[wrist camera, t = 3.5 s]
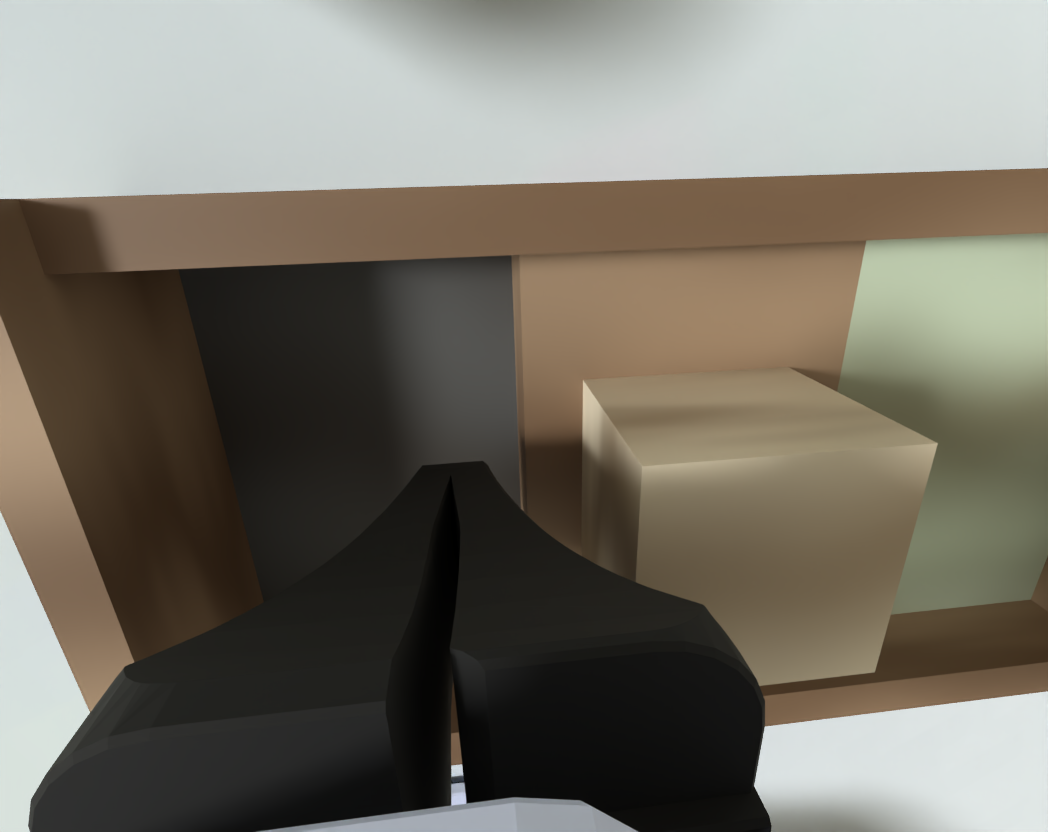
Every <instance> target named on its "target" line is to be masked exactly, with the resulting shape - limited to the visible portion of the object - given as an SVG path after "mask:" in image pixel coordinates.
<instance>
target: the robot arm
mask: <svg viewBox="0 0 1048 832" xmlns="http://www.w3.org/2000/svg"><path fill="white" fill-rule="evenodd" d="M453 683H454V693H455V702H456V711H457V720H458V729H459V738H460V748H461V757H462V766H463V775H464V783H456V784H451V705H452V687H453ZM764 727H765V699H764V697H763V694H762V691H761V689H760V686H759V684H758V681H757V679H756V677H755V676H754V674H753V672H752V671H751V669H750V668H749V666H748V664H747V663H746V661H745V660H744V658H743V656H742V655H741V653H740V652H739V650H738V649H737V647H736V646H735V645H734V643H733V642H732V640H731V639H730V638H729V636H728V635H727V633H726V632H725V631H724V630H723V628H722V627H721V626H720V625H719V624H718V622H717V621H716V620H715V619H714V618H713V616H712V615H711V614H710V612H709V611H708V610H707V608H706V607H705V606H704V605H703V604H700V603H697V602H693V601H690V600H687V599H684V598H681V597H677V596H674V595H671V594H668V593H665V592H662V591H658V590H655V589H652V588H649V587H646V586H644V585H641V584H639V583H637V582H634V581H632V580H629V579H627V578H625V577H622V576H620V575H617V574H615V573H613V572H611V571H609V570H607V569H605V568H603V567H601V566H599V565H597V564H595V563H593V562H591V561H590V560H588V559H586V558H584V557H583V556H581V555H579V554H577V553H575V552H574V551H572V550H571V549H569V548H568V547H566V546H564V545H563V544H561V543H560V542H559V541H557V540H556V539H555V538H553V537H552V536H550V535H549V534H548V533H546V532H545V531H544V530H543V529H542V528H541V527H539V526H538V525H537V524H536V523H535V522H534V521H533V520H532V519H531V518H530V517H529V516H528V515H527V514H526V513H525V512H524V511H523V510H522V509H521V508H520V507H519V506H518V505H517V504H516V503H515V502H514V500H513V499H512V498H511V497H510V496H509V495H508V494H507V492H506V491H505V490H504V489H503V487H502V486H501V485H500V483H499V482H498V481H497V479H496V478H495V476H494V475H493V473H492V472H491V470H490V468H489V466H488V465H487V464H486V463H485V462H484V461H472V462H460V463H447V464H434V465H422V467H421V468H420V469H419V470H418V471H417V472H416V473H415V474H414V476H413V477H412V478H411V479H410V481H409V482H408V483H407V484H406V486H405V487H404V488H403V489H402V490H401V492H400V493H399V494H398V495H397V496H396V498H395V499H394V500H393V501H392V502H391V503H390V504H389V505H388V507H387V508H386V509H385V510H384V511H383V512H382V513H381V514H380V515H379V516H378V517H377V518H376V519H375V520H374V521H373V522H372V523H371V524H370V525H369V526H368V527H367V528H366V529H365V530H364V531H363V532H362V533H361V534H360V535H359V536H358V537H357V538H356V539H355V540H353V541H352V542H351V543H350V544H349V545H347V546H346V547H345V548H344V549H343V550H341V551H340V552H339V553H337V554H336V555H335V556H334V557H332V558H331V559H330V560H328V561H327V562H326V563H324V564H323V565H322V566H320V567H319V568H318V569H316V570H315V571H313V572H311V573H310V574H308V575H307V576H305V577H304V578H302V579H301V580H299V581H297V582H296V583H294V584H293V585H291V586H290V587H288V588H287V589H285V590H284V591H282V592H280V593H279V594H277V595H276V596H274V597H272V598H270V599H269V600H267V601H265V602H263V603H261V604H260V605H258V606H256V607H254V608H252V609H251V610H249V611H247V612H245V613H243V614H241V615H239V616H237V617H235V618H233V619H231V620H229V621H227V622H225V623H223V624H221V625H219V626H217V627H215V628H213V629H211V630H209V631H207V632H205V633H203V634H200V635H198V636H196V637H193V638H191V639H189V640H186V641H184V642H182V643H179V644H177V645H175V646H172V647H170V648H168V649H165V650H163V651H161V652H158V653H156V654H154V655H151V656H149V657H147V658H144V659H142V660H139V661H137V662H134V663H132V664H129V665H127V666H125V667H124V668H123V669H122V671H121V672H120V673H119V675H118V676H117V677H116V678H115V680H114V681H113V682H112V684H111V685H110V686H109V688H108V689H107V690H106V692H105V693H104V694H103V696H102V697H101V698H100V700H99V701H98V703H97V704H96V705H95V707H94V708H93V710H92V711H91V712H90V714H89V715H88V716H87V718H86V719H85V721H84V722H83V723H82V725H81V726H80V728H79V729H78V730H77V732H76V733H75V735H74V736H73V737H72V739H71V740H70V742H69V743H68V744H67V746H66V747H65V749H64V750H63V751H62V753H61V754H60V756H59V757H58V758H57V760H56V761H55V763H54V764H53V765H52V767H51V768H50V770H49V771H48V772H47V774H46V775H45V777H44V779H43V780H42V782H41V784H40V785H39V787H38V789H37V791H36V792H35V794H34V796H33V797H32V799H31V805H30V815H29V824H28V827H29V830H30V832H771V822H770V818H769V815H768V813H767V811H766V809H765V807H764V805H763V803H762V801H761V799H760V797H759V795H758V793H757V791H756V789H755V787H754V782H755V777H756V771H757V766H758V760H759V755H760V749H761V744H762V738H763V733H764Z"/></svg>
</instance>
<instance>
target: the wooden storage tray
mask: <svg viewBox="0 0 1048 832" xmlns="http://www.w3.org/2000/svg"><path fill="white" fill-rule="evenodd" d="M781 367H789V368H791V369H793V370H795V371H797V372H799V373H801V374H803V375H805V376H807V377H809V378H811V379H813V380H815V381H817V382H819V383H820V384H822V385H824V386H826V387H828V388H830V389H832V390H834V391H836V392H838V393H840V394H842V395H844V396H846V397H848V398H850V399H852V400H854V401H856V402H858V403H860V404H862V405H864V406H866V407H868V408H870V409H872V410H874V411H875V412H877V413H879V414H881V415H883V416H885V417H887V418H889V419H891V420H893V421H895V422H897V423H899V424H901V425H903V426H905V427H907V428H909V429H911V430H913V431H915V432H917V433H919V434H921V435H923V436H925V437H927V438H929V439H931V440H932V441H934V442H936V443H938V445H937V448H936V452H935V456H934V459H933V463H932V467H931V470H930V474H929V477H928V481H927V485H926V488H925V492H924V496H923V499H922V503H921V506H920V510H919V514H918V517H917V521H916V525H915V528H914V532H913V536H912V539H911V543H910V546H909V550H908V554H907V557H906V561H905V565H904V568H903V572H902V575H901V579H900V583H899V586H898V590H897V594H896V597H895V601H894V605H893V608H892V612H891V615H890V619H889V623H888V626H887V630H886V634H885V637H884V641H883V644H882V648H881V652H880V655H879V659H878V663H877V666H876V670H875V672H873V673H865V674H856V675H848V676H839V677H831V678H822V679H814V680H805V681H797V682H788V683H780V684H771V685H763V686H760V689H761V691H762V694H763V697H764V699H765V726H772V725H780V724H788V723H796V722H804V721H812V720H820V719H828V718H836V717H844V716H852V715H860V714H868V713H876V712H884V711H892V710H900V709H908V708H917V707H925V706H933V705H941V704H949V703H957V702H965V701H973V700H981V699H989V698H997V697H1005V696H1013V695H1021V694H1029V693H1037V692H1045V691H1048V168H1042V169H1009V170H975V171H942V172H909V173H875V174H842V175H808V176H775V177H742V178H708V179H675V180H642V181H608V182H575V183H541V184H508V185H475V186H441V187H408V188H375V189H341V190H308V191H274V192H241V193H208V194H174V195H141V196H108V197H74V198H41V199H0V511H1V513H2V516H3V518H4V520H5V522H6V525H7V527H8V529H9V531H10V534H11V536H12V538H13V540H14V543H15V545H16V547H17V549H18V551H19V554H20V556H21V558H22V560H23V563H24V565H25V567H26V569H27V572H28V574H29V576H30V578H31V581H32V583H33V585H34V587H35V590H36V592H37V594H38V596H39V599H40V601H41V603H42V605H43V608H44V610H45V612H46V614H47V617H48V619H49V621H50V623H51V626H52V628H53V630H54V632H55V635H56V637H57V639H58V641H59V644H60V646H61V648H62V650H63V653H64V655H65V657H66V659H67V662H68V664H69V666H70V668H71V670H72V673H73V675H74V677H75V679H76V682H77V684H78V686H79V688H80V691H81V693H82V695H83V697H84V700H85V702H86V704H87V706H88V709H89V711H90V712H91V711H92V710H93V708H94V707H95V705H96V704H97V703H98V701H99V700H100V698H101V697H102V696H103V694H104V693H105V692H106V690H107V689H108V688H109V686H110V685H111V684H112V682H113V681H114V680H115V678H116V677H117V676H118V675H119V673H120V672H121V671H122V669H123V668H124V667H125V666H127V665H129V664H132V663H134V662H137V661H139V660H142V659H144V658H147V657H149V656H151V655H154V654H156V653H158V652H161V651H163V650H165V649H168V648H170V647H172V646H175V645H177V644H179V643H182V642H184V641H186V640H189V639H191V638H193V637H196V636H198V635H200V634H203V633H205V632H207V631H209V630H211V629H213V628H215V627H217V626H219V625H221V624H223V623H225V622H227V621H229V620H231V619H233V618H235V617H237V616H239V615H241V614H243V613H245V612H247V611H249V610H251V609H252V608H254V607H256V606H258V605H260V604H261V603H263V602H265V601H267V600H269V599H270V598H272V597H274V596H276V595H277V594H279V593H280V592H282V591H284V590H285V589H287V588H288V587H290V586H291V585H293V584H294V583H296V582H297V581H299V580H301V579H302V578H304V577H305V576H307V575H308V574H310V573H311V572H313V571H315V570H316V569H318V568H319V567H320V566H322V565H323V564H324V563H326V562H327V561H328V560H330V559H331V558H332V557H334V556H335V555H336V554H337V553H339V552H340V551H341V550H343V549H344V548H345V547H346V546H347V545H349V544H350V543H351V542H352V541H353V540H355V539H356V538H357V537H358V536H359V535H360V534H361V533H362V532H363V531H364V530H365V529H366V528H367V527H368V526H369V525H370V524H371V523H372V522H373V521H374V520H375V519H376V518H377V517H378V516H379V515H380V514H381V513H382V512H383V511H384V510H385V509H386V508H387V507H388V505H389V504H390V503H391V502H392V501H393V500H394V499H395V498H396V496H397V495H398V494H399V493H400V492H401V490H402V489H403V488H404V487H405V486H406V484H407V483H408V482H409V481H410V479H411V478H412V477H413V476H414V474H415V473H416V472H417V471H418V470H419V469H420V468H421V467H422V465H434V464H447V463H460V462H472V461H484V462H485V463H486V464H487V465H488V466H489V468H490V470H491V472H492V473H493V475H494V476H495V478H496V479H497V481H498V482H499V483H500V485H501V486H502V487H503V489H504V490H505V491H506V492H507V494H508V495H509V496H510V497H511V498H512V499H513V500H514V502H515V503H516V504H517V505H518V506H519V507H520V508H521V509H522V510H523V511H524V512H525V513H526V514H527V515H528V516H529V517H530V518H531V519H532V520H533V521H534V522H535V523H536V524H537V525H538V526H539V527H541V528H542V529H543V530H544V531H545V532H546V533H548V534H549V535H550V536H552V537H553V538H555V539H556V540H557V541H559V542H560V543H561V544H563V545H564V546H566V547H568V548H569V549H571V550H572V551H574V552H575V553H577V554H579V555H581V524H582V430H583V380H590V379H606V378H622V377H638V376H654V375H669V374H685V373H701V372H717V371H733V370H749V369H765V368H781ZM459 764H462V757H461V748H460V738H459V729H458V720H457V711H456V702H455V693H454V683H453V687H452V705H451V765H459Z"/></svg>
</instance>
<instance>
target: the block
mask: <svg viewBox="0 0 1048 832" xmlns="http://www.w3.org/2000/svg"><path fill="white" fill-rule="evenodd" d="M937 445H938V443H936V442H934V441H932V440H931V439H929V438H927V437H925V436H923V435H921V434H919V433H917V432H915V431H913V430H911V429H909V428H907V427H905V426H903V425H901V424H899V423H897V422H895V421H893V420H891V419H889V418H887V417H885V416H883V415H881V414H879V413H877V412H875V411H874V410H872V409H870V408H868V407H866V406H864V405H862V404H860V403H858V402H856V401H854V400H852V399H850V398H848V397H846V396H844V395H842V394H840V393H838V392H836V391H834V390H832V389H830V388H828V387H826V386H824V385H822V384H820V383H819V382H817V381H815V380H813V379H811V378H809V377H807V376H805V375H803V374H801V373H799V372H797V371H795V370H793V369H791V368H789V367H781V368H765V369H749V370H733V371H717V372H701V373H685V374H669V375H654V376H638V377H622V378H606V379H590V380H583V430H582V524H581V556H583V557H584V558H586V559H588V560H590V561H591V562H593V563H595V564H597V565H599V566H601V567H603V568H605V569H607V570H609V571H611V572H613V573H615V574H617V575H620V576H622V577H625V578H627V579H629V580H632V581H634V582H637V583H639V584H641V585H644V586H646V587H649V588H652V589H655V590H658V591H662V592H665V593H668V594H671V595H674V596H677V597H681V598H684V599H687V600H690V601H693V602H697V603H700V604H703V605H704V606H705V607H706V608H707V610H708V611H709V612H710V614H711V615H712V616H713V618H714V619H715V620H716V621H717V622H718V624H719V625H720V626H721V627H722V628H723V630H724V631H725V632H726V633H727V635H728V636H729V638H730V639H731V640H732V642H733V643H734V645H735V646H736V647H737V649H738V650H739V652H740V653H741V655H742V656H743V658H744V660H745V661H746V663H747V664H748V666H749V668H750V669H751V671H752V672H753V674H754V676H755V677H756V679H757V681H758V684H759V686H763V685H771V684H780V683H788V682H797V681H805V680H814V679H822V678H831V677H839V676H848V675H856V674H865V673H873V672H875V670H876V666H877V663H878V659H879V655H880V652H881V648H882V644H883V641H884V637H885V634H886V630H887V626H888V623H889V619H890V615H891V612H892V608H893V605H894V601H895V597H896V594H897V590H898V586H899V583H900V579H901V575H902V572H903V568H904V565H905V561H906V557H907V554H908V550H909V546H910V543H911V539H912V536H913V532H914V528H915V525H916V521H917V517H918V514H919V510H920V506H921V503H922V499H923V496H924V492H925V488H926V485H927V481H928V477H929V474H930V470H931V467H932V463H933V459H934V456H935V452H936V448H937Z"/></svg>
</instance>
